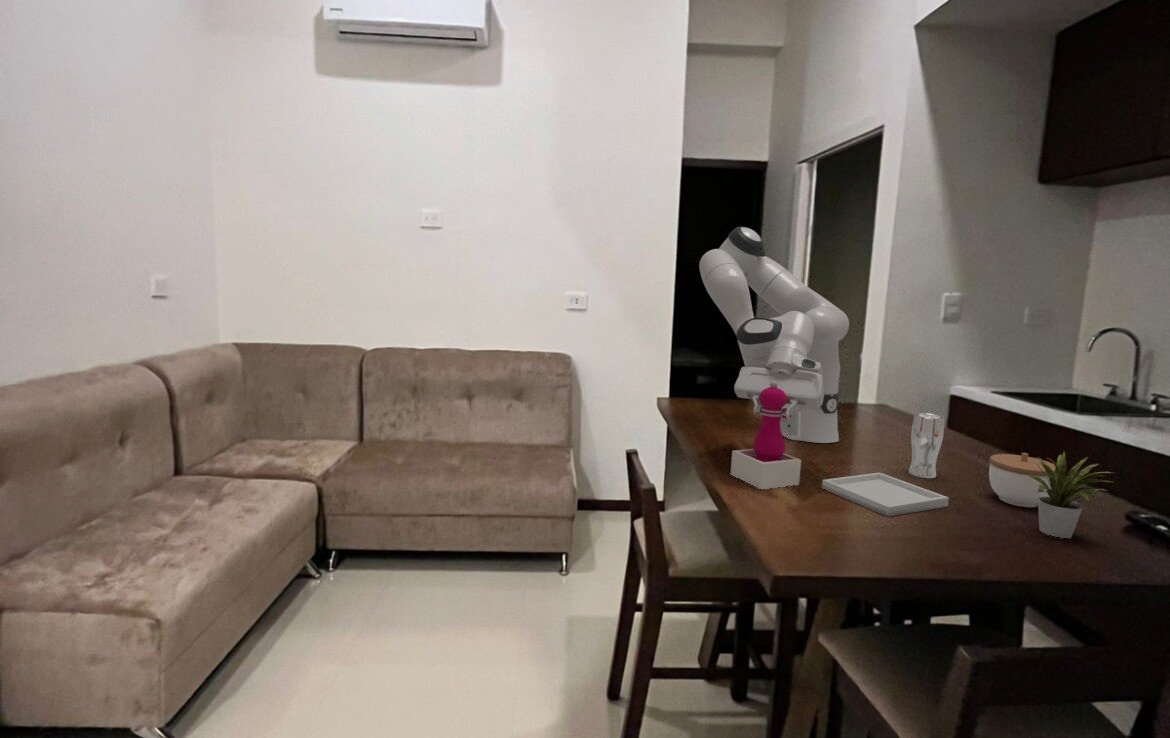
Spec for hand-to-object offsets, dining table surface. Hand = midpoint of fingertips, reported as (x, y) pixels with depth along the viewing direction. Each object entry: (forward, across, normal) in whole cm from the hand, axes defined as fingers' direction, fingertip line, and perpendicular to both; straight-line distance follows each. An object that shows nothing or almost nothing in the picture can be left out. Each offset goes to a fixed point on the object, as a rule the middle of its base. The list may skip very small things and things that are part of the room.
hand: (770, 415), depth 148 cm
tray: (+8, +24, +15) cm, 30 cm away
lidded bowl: (-4, +50, +27) cm, 57 cm away
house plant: (+10, +55, +13) cm, 58 cm away
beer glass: (-10, +31, +33) cm, 46 cm away
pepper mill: (+8, 0, +9) cm, 12 cm away
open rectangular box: (+11, 0, +12) cm, 16 cm away
